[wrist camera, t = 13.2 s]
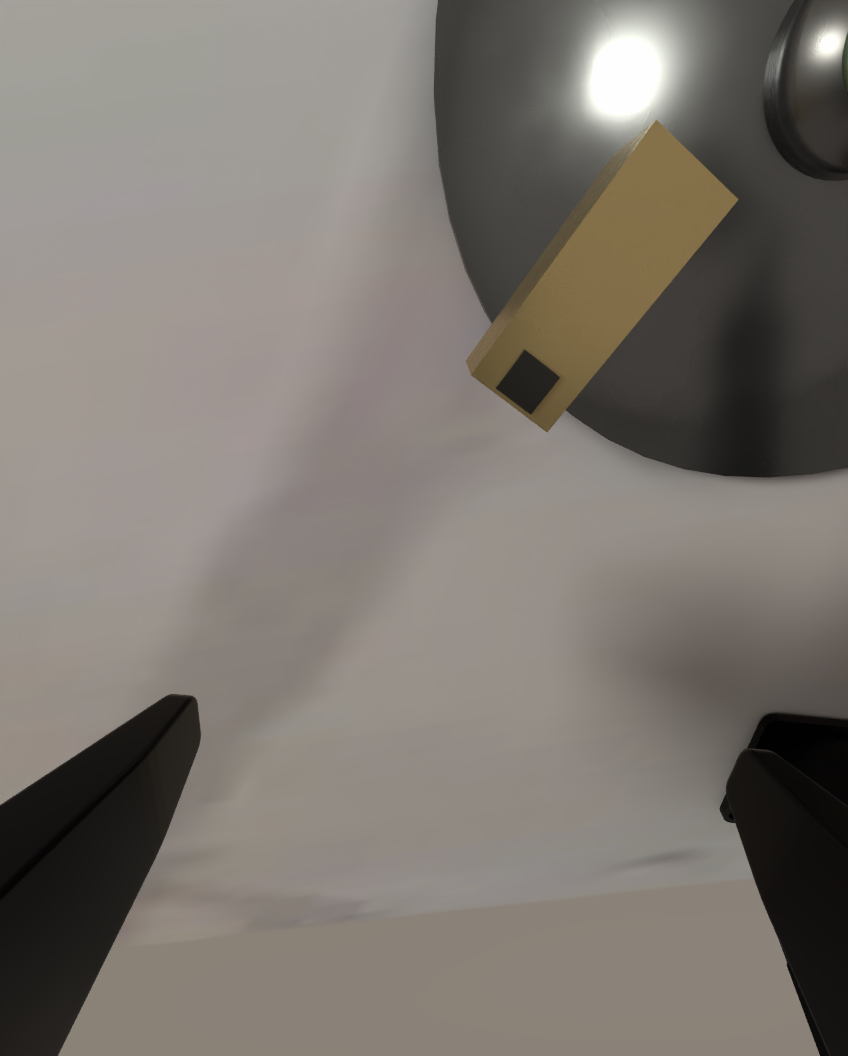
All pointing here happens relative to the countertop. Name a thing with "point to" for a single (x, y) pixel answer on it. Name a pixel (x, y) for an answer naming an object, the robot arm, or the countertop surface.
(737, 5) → the levelling plate
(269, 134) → the countertop surface
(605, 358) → the knob
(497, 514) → the countertop surface
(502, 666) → the countertop surface
